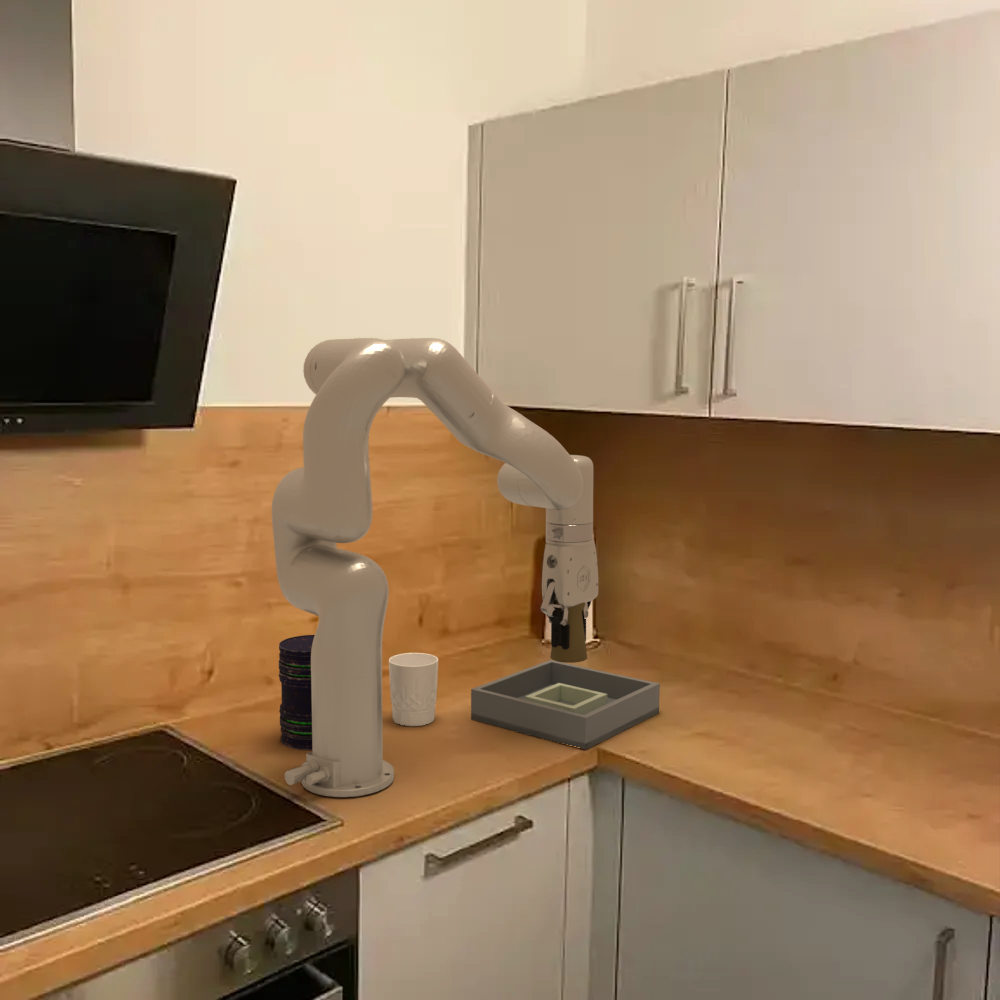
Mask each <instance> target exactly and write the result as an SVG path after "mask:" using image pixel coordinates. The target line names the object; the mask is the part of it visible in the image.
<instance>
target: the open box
mask: <svg viewBox="0 0 1000 1000" xmlns="http://www.w3.org/2000/svg"><path fill="white" fill-rule="evenodd" d="M660 687H661V684H660V683H659V682H653V681H649V680H645V679H641V678H636V677H633V676H631V677H630V676H628V675H627V676H626V675H623V674H622V675H621V674H617V673H613V672H608V671H603V670H598V669H595V668H590V667H586V666H585V667H584V666H581V665H575V664H572V663H565V662H558V661H554V660H552V659H548V660H547V661H544V662H541V663H539V664H536V665H533V666H530V667H528V668H524V669H522V670H519V671H516V672H515V673H511V674H508V675H505V676H502V677H501V678H497V679H495V680H492V681H489V682H487V683H484V684H481V685H478V686H476V687H473V688H471V689H470V704H471V705H470V719H471V720H474V721H476V722H479V723H484V724H488V725H491V726H495V727H499V728H503V729H505V730H510V731H513V732H518V733H521V734H524V735H527V736H531V737H534V736H536V737H535V738H538V737H539V739H542V738H544V739H543V740H545V739H547V740H546V741H549V740H552V741H555V742H554V743H556V742H559V743H558V744H560V743H564V744H568V745H572V746H576V747H580V748H582V749H585V750H584V751H587V750H589V749H590V748H589V747H591V748H593V747H594V745H595V746H597V745H599V744H601V743H603V742H605V741H607V740H608V739H611V738H613V737H615V736H617V735H618V734H621V733H622V732H625V731H626V730H628V729H630V728H632V727H634V726H636V725H638V724H640V723H642V722H644V721H646V720H648V719H651V718H653V717H654V716H656V715H658V714H659V713H660V694H661V693H660V691H661V690H660V689H661V688H660ZM552 741H551V742H552ZM602 741H603V742H602ZM600 742H601V743H600ZM598 743H599V744H598ZM596 744H597V745H596ZM592 746H593V747H592ZM588 748H589V749H588ZM582 749H581V750H582ZM586 749H587V750H586Z"/></svg>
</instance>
